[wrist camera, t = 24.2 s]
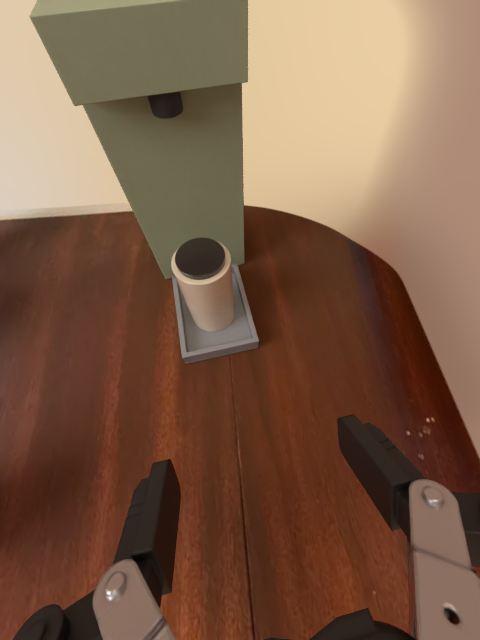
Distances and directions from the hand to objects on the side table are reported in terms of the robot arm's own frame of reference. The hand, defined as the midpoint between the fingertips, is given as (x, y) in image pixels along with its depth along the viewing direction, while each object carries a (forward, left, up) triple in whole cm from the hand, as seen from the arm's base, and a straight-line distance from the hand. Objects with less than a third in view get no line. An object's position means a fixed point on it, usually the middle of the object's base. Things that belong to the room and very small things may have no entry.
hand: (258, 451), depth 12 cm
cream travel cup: (+1, -17, -16) cm, 23 cm away
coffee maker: (+1, -21, -17) cm, 27 cm away
